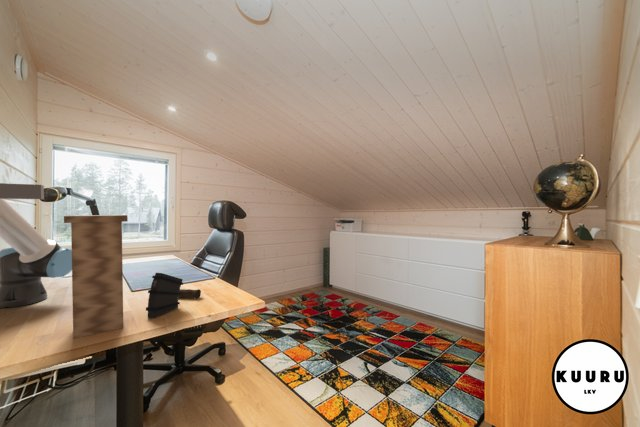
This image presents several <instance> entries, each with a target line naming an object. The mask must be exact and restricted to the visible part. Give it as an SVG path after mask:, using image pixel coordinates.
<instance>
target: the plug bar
mask: <svg viewBox="0 0 640 427" xmlns="http://www.w3.org/2000/svg"><path fill="white" fill-rule="evenodd" d="M0 199H4V200H45V186H44V185H42V184H27V183H26V184H25V183H6V182H5V183H1V182H0Z"/></svg>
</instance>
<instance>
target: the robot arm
mask: <svg viewBox="0 0 640 427" xmlns="http://www.w3.org/2000/svg"><path fill="white" fill-rule="evenodd" d="M0 239H1V240H3V241H4V242H5V243H6V244H8V245H9V246H10V247H6V248H2V249H0V309H5V308H6V307H8V308H15V307H22V306H26V305H31V304H34V303H35V304H36V303H39V302H42V301H44V300H46V299H47V298H48V292H47V290H46V288H45V286H44V284H43V282H42V278H51V279H54V278H61V277H65V276H67V275H69V274H70V273H72V248H68V247H62V246H60V245H59V244H58V243H57V242H56V241H55V240H53V239H46V238H45V237H44V236H43V235H42V234H41V233H40V232H39V231H37V229H36V228H35V227H34V226H33V225H32V224H31V223H30V222H28V220H26V219H25V218H24V217H23V216H22V215H21V214H20V213H19V212H18V211H17V210H16V209H15V208H14V207H13V206H12V205H11V204H10V203H8V201H7V200H6V199H0Z"/></svg>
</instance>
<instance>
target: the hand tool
mask: <svg viewBox="0 0 640 427" xmlns="http://www.w3.org/2000/svg"><path fill="white" fill-rule="evenodd" d="M179 293H181V294H180V295H179V296H178V298H187V299H195V300H198V299H200V297H201V294H202V290H201V289H191V288H189V289H185V288H180V290H179Z"/></svg>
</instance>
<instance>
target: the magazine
mask: <svg viewBox="0 0 640 427" xmlns="http://www.w3.org/2000/svg"><path fill="white" fill-rule="evenodd" d="M151 278H152V279H153V280H152V282H151V286H150V289H148V291H147V294H149V295H148V302H147V306H146V307H145V311H147V318H150V319H155V318H157V317H158V318H159V317H160V316H162V315H165V314H167V313H170V312H172V311H174V310H177V309H178V308H179V305H180V304H181V302H179V297H178V296H179V295H180V294H181V293H179V290H180V289H181V286H183V285H184V282H183V280H184V279H183V278H180V277H176V276H172V275H169V274H166V273H161V272H155V274H154V275H152V277H151Z"/></svg>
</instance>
